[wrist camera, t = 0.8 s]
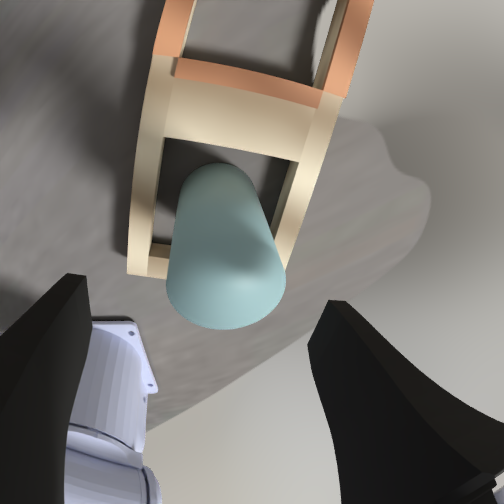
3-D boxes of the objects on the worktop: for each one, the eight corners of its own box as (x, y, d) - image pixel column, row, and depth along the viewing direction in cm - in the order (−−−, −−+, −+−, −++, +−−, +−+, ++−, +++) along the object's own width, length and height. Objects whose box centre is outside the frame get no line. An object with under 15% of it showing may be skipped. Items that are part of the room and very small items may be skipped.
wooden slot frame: (272, 278, 22) (277, 295, 21) (131, 259, 20) (126, 276, 18) (368, -31, 11) (383, -37, 10) (199, -79, 9) (199, -92, 8)
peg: (254, 230, 20) (281, 324, 13) (182, 234, 19) (174, 332, 13) (256, 161, 17) (290, 231, 11) (176, 165, 17) (158, 239, 10)
